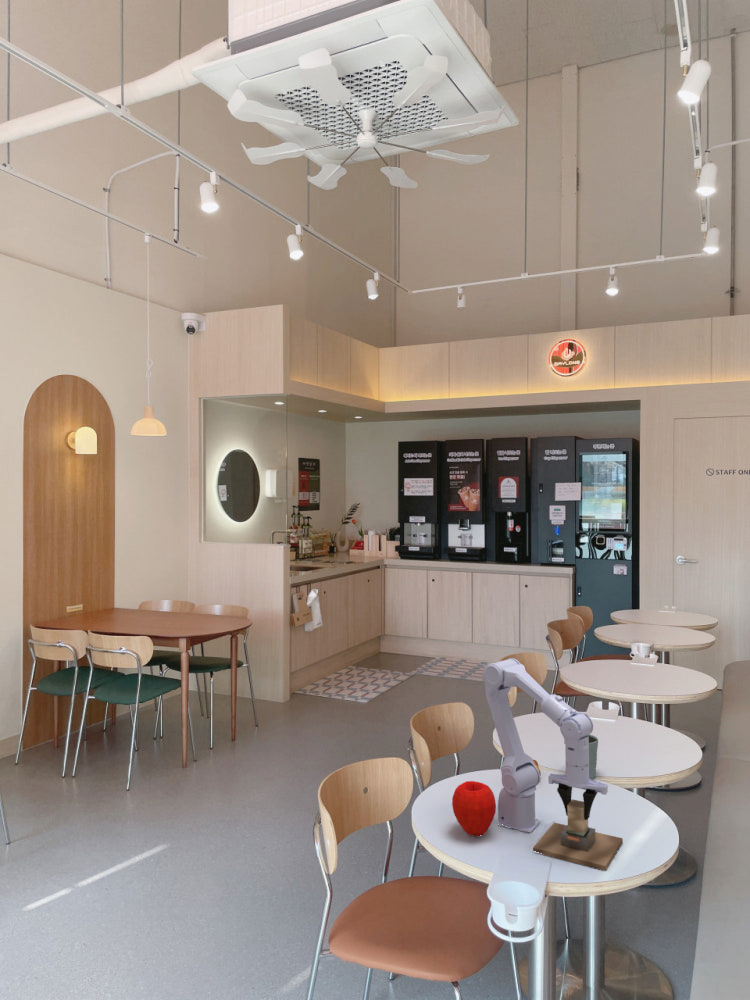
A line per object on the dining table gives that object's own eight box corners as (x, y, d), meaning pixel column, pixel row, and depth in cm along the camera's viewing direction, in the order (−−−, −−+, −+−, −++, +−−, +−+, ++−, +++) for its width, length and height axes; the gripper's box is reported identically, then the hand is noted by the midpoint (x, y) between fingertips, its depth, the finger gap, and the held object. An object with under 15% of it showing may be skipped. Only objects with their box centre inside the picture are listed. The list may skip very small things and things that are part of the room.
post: (567, 832, 189) (567, 805, 189) (572, 826, 193) (572, 799, 192) (583, 836, 187) (583, 808, 187) (588, 829, 190) (588, 802, 190)
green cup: (564, 780, 232) (563, 741, 232) (565, 768, 242) (565, 731, 242) (598, 783, 229) (598, 744, 229) (598, 771, 239) (598, 733, 239)
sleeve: (560, 846, 188) (559, 834, 188) (569, 834, 195) (569, 822, 194) (587, 852, 185) (586, 840, 185) (595, 840, 191) (595, 828, 191)
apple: (444, 827, 202) (443, 778, 202) (482, 820, 206) (482, 771, 206) (464, 847, 191) (463, 795, 191) (505, 839, 195) (504, 788, 195)
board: (532, 852, 188) (532, 847, 188) (554, 826, 201) (554, 822, 201) (605, 871, 178) (605, 866, 178) (622, 842, 192) (622, 838, 192)
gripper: (610, 763, 189) (611, 816, 189) (554, 752, 197) (555, 804, 197) (602, 772, 183) (603, 827, 183) (545, 761, 191) (546, 814, 191)
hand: (577, 816), depth 190 cm, fingers closed on post, 4 cm apart
